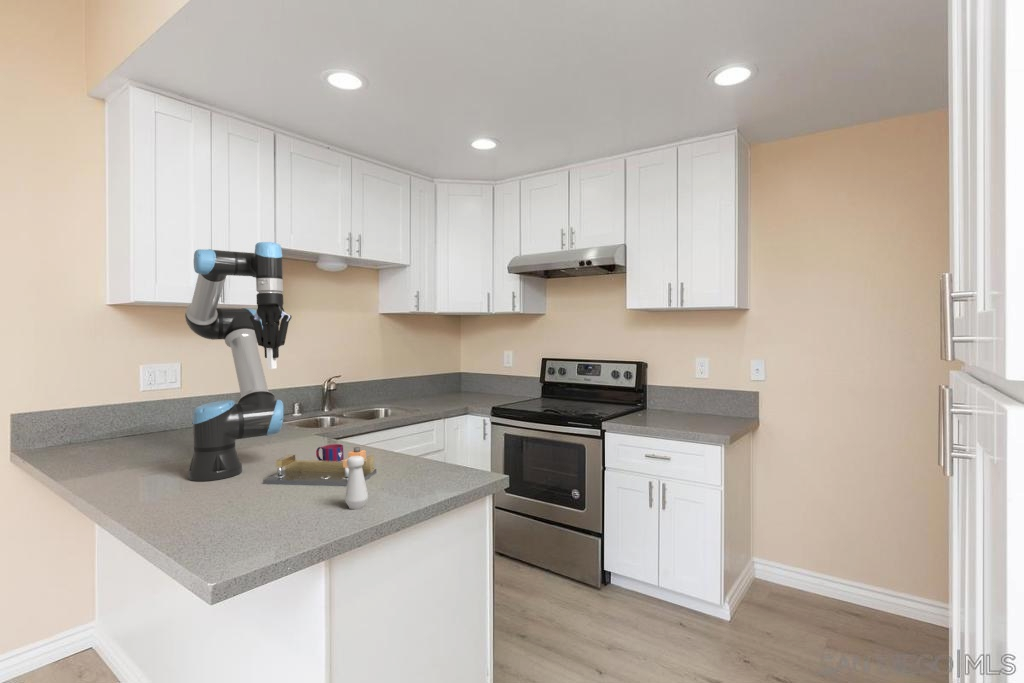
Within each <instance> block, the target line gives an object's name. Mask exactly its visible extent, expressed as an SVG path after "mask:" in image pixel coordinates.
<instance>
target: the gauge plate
mask: <svg viewBox="0 0 1024 683" xmlns="http://www.w3.org/2000/svg"><path fill="white" fill-rule="evenodd" d="M363 474H364V478H365V482H366V481H367V480H369V479H370V478H371V477H372V476H374V475H376V474H377V469H376V468H374V471H373V472H371V473H363ZM347 482H348V477H345V472H318V471H285V469H282V476H278V472H277V473H274V474H273V475H270V476H268V477H266V478H263V479H262V484H264V485H292V486H293V485H295V486H296V485H298V486H300V485H301V486H332V487H333V486H334V487H347Z"/></svg>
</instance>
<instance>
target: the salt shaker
mask: <svg viewBox="0 0 1024 683" xmlns="http://www.w3.org/2000/svg"><path fill="white" fill-rule="evenodd" d="M347 458H348V457H347ZM347 458H346V459H347ZM364 461H365V460H364V458H363V457H362V456H352V457H349V458H348V459H347V466H348V467H349V475H348V482H347V486H346V490H345V496H344V501H345V503H346V504H347V507H348V508H349V509H350V510H358V509H362V508H364V507H365V506H366V504H367V501H368V498H369V493H368V489H367V484H366V481H365V478H364V474H363V469H362V465H364Z"/></svg>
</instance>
